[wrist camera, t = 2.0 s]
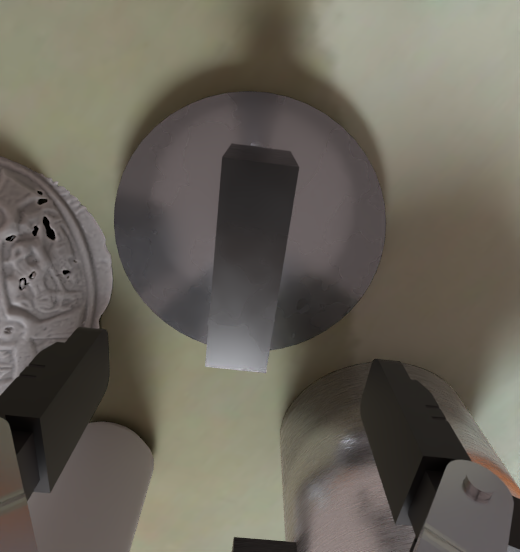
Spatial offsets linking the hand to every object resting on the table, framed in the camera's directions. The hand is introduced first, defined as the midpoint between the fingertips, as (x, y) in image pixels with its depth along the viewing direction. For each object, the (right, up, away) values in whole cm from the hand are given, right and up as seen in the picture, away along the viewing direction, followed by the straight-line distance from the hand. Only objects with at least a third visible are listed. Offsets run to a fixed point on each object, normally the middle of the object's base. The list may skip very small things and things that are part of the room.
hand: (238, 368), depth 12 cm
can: (-11, -11, +19) cm, 24 cm away
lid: (0, +5, +11) cm, 13 cm away
